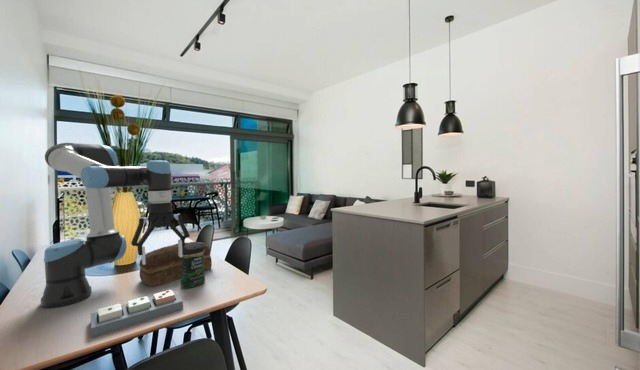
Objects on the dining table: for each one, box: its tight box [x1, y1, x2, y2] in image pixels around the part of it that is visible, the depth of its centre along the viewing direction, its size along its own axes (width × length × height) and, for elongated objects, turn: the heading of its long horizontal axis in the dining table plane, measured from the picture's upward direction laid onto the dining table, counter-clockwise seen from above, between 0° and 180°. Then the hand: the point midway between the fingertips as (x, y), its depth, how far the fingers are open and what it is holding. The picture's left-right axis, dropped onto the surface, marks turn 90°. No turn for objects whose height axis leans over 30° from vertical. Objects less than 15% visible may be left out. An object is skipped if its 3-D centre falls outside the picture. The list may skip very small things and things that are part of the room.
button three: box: [152, 289, 175, 306], centre depth 100 cm, size 6×6×3 cm
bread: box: [139, 241, 213, 288], centre depth 134 cm, size 15×32×16 cm, turn 141°
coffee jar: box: [180, 243, 206, 289], centre depth 121 cm, size 10×8×19 cm
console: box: [90, 290, 184, 338], centre depth 95 cm, size 26×12×3 cm, turn 131°
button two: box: [126, 295, 150, 314], centre depth 95 cm, size 6×6×3 cm
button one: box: [97, 303, 122, 322], centre depth 90 cm, size 6×6×3 cm
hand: (162, 259), depth 100 cm, fingers open, 11 cm apart
